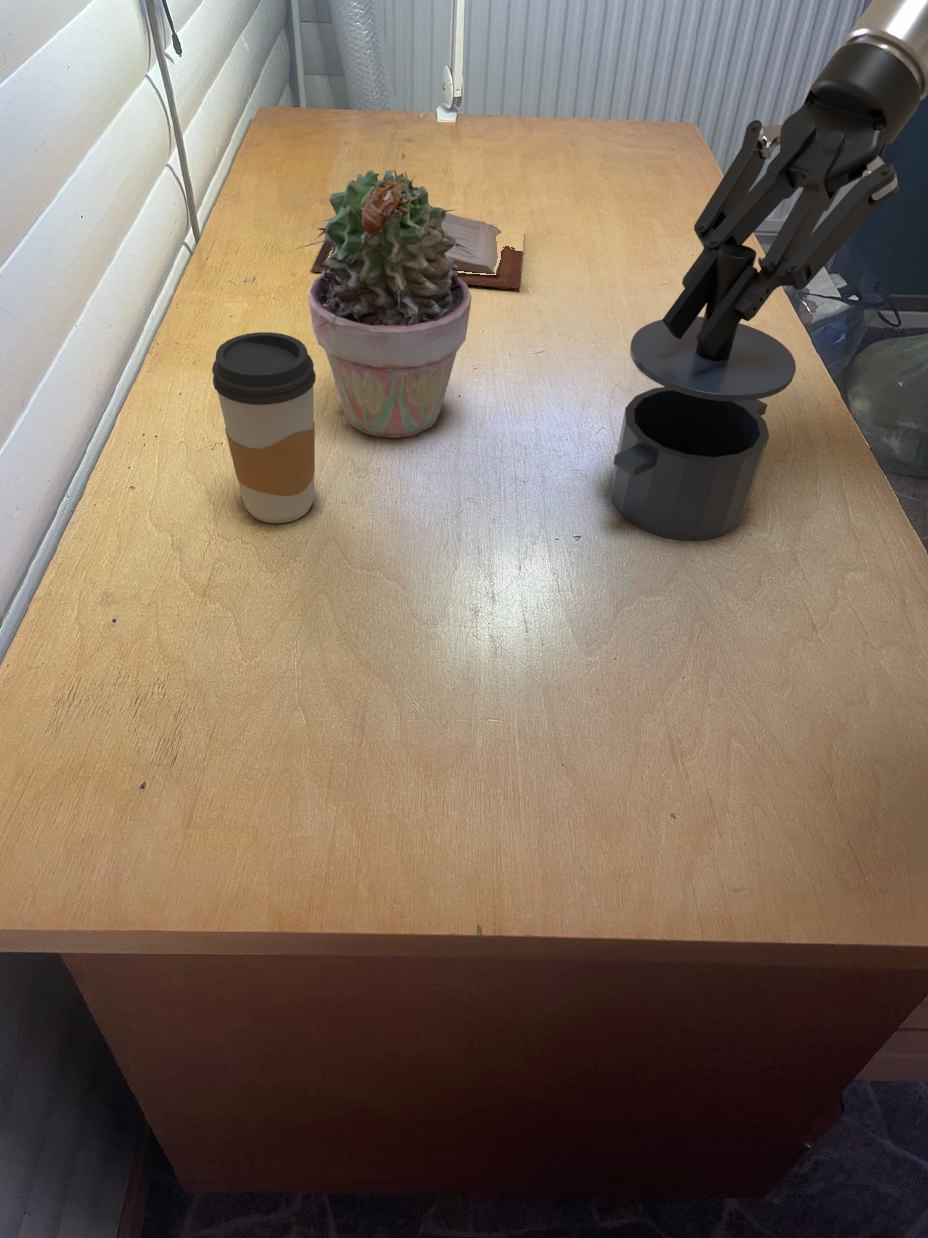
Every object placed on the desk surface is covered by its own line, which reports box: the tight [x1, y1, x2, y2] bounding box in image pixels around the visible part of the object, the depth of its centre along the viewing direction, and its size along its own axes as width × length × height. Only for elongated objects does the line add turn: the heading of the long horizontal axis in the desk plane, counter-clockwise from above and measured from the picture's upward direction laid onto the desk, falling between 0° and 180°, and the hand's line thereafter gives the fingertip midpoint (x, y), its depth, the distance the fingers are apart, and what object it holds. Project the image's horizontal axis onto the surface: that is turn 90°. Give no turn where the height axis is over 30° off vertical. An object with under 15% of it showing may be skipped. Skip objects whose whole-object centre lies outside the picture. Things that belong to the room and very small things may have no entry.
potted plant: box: [295, 168, 481, 439], centre depth 88 cm, size 18×20×25 cm
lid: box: [629, 244, 797, 401], centre depth 73 cm, size 14×14×10 cm
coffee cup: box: [211, 331, 317, 524], centre depth 79 cm, size 8×8×15 cm
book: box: [309, 212, 525, 291], centre depth 125 cm, size 20×28×4 cm
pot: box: [610, 386, 770, 541], centre depth 84 cm, size 13×18×8 cm
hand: (688, 337), depth 72 cm, fingers closed on lid, 3 cm apart
